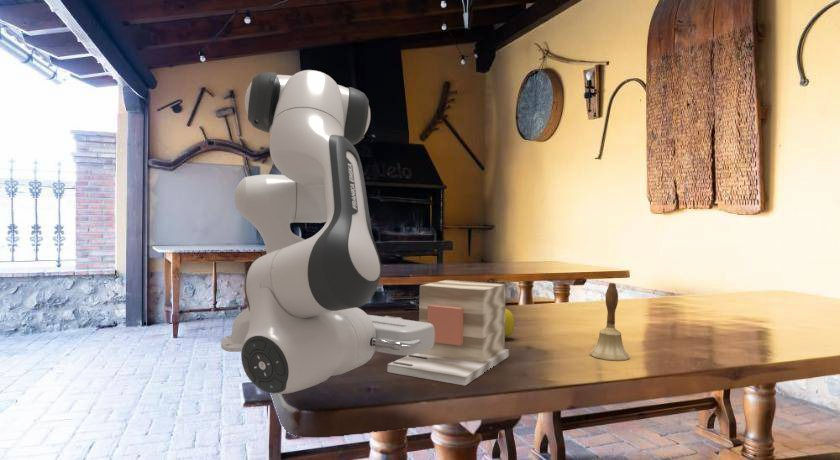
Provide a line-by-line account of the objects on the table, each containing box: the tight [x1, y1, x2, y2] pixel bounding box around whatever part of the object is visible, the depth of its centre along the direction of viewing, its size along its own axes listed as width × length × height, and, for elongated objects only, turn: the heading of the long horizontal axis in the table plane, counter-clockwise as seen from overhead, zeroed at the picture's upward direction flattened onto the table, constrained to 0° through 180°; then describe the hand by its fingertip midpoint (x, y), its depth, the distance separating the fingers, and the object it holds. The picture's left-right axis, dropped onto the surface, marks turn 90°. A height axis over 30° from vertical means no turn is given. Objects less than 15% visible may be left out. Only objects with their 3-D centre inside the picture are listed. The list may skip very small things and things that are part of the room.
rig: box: [386, 279, 510, 386], centre depth 106 cm, size 24×16×16 cm
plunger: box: [427, 305, 463, 345], centre depth 107 cm, size 12×7×7 cm, turn 152°
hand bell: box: [589, 282, 631, 362], centre depth 114 cm, size 8×8×16 cm
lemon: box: [505, 307, 515, 338], centre depth 129 cm, size 6×6×8 cm
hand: (395, 321), depth 86 cm, fingers closed
